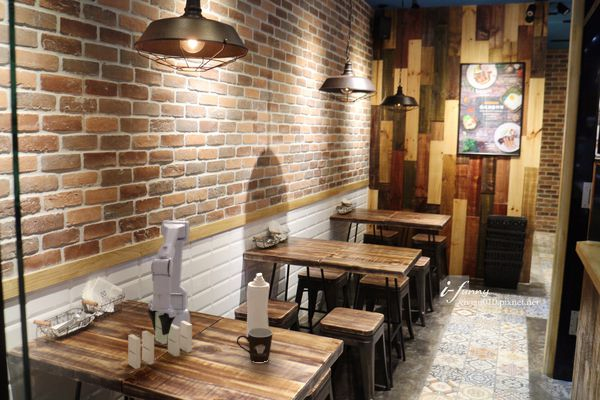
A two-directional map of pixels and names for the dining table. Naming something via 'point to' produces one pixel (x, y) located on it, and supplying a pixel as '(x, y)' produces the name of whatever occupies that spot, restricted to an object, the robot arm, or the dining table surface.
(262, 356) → the coffee mug
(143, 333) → the domino
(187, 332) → the domino
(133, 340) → the domino
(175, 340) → the domino
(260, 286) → the spray can
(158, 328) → the domino
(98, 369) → the dining table surface
